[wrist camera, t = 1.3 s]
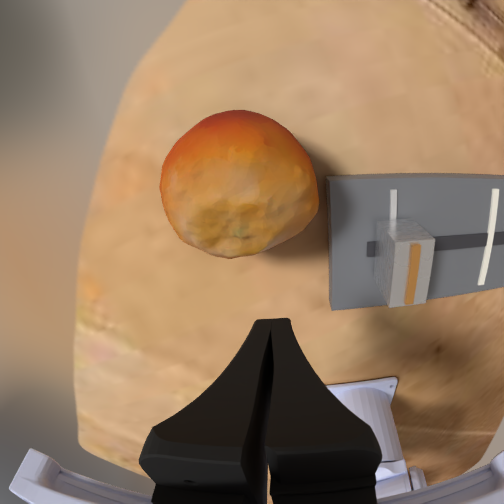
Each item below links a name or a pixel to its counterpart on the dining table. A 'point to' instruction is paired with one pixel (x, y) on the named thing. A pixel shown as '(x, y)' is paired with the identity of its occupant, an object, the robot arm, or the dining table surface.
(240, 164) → the fruit
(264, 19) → the dining table surface
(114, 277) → the dining table surface
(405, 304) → the fader cap
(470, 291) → the board
